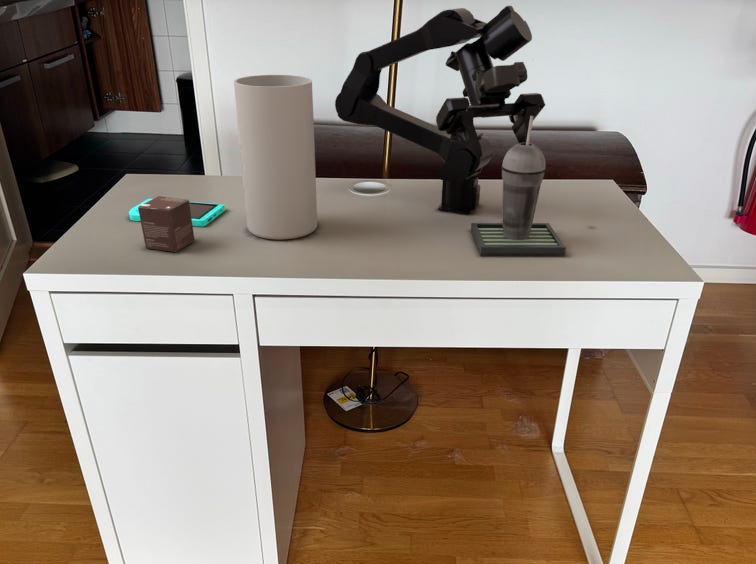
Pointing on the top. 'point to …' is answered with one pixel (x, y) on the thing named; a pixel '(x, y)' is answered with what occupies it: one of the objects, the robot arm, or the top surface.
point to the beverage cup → (521, 187)
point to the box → (166, 223)
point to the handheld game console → (199, 212)
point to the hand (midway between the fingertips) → (504, 154)
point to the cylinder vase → (277, 154)
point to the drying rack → (517, 241)
